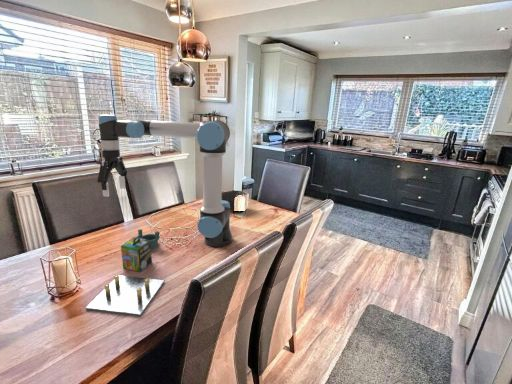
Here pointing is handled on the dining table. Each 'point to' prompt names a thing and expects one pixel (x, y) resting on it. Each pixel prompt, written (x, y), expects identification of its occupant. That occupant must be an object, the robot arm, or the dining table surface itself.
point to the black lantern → (231, 197)
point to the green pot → (150, 238)
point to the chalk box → (136, 253)
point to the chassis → (126, 295)
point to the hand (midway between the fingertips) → (114, 192)
